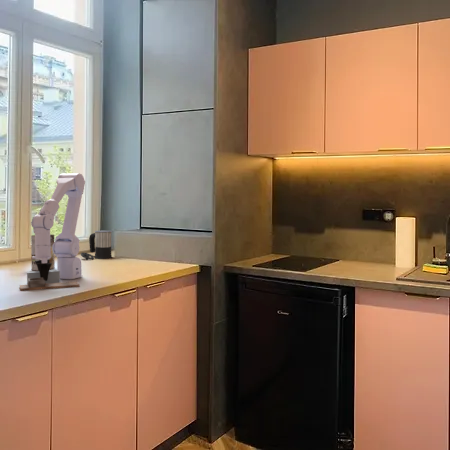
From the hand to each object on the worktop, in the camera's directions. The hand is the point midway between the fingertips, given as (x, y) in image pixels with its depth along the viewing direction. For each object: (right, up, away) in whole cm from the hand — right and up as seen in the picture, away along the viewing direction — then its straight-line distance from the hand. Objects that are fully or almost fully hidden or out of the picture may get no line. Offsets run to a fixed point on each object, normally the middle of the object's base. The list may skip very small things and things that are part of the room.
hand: (43, 279), depth 207 cm
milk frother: (+2, +3, +76) cm, 76 cm away
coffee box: (-13, +1, +37) cm, 39 cm away
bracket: (+5, -2, -7) cm, 9 cm away
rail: (0, -2, 0) cm, 2 cm away
